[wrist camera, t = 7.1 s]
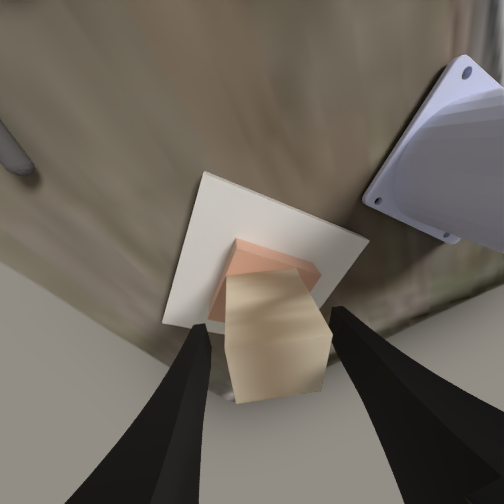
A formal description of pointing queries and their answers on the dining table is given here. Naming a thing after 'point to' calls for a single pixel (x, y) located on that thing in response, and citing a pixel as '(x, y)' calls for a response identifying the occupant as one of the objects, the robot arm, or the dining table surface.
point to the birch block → (274, 336)
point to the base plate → (258, 227)
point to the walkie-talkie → (13, 154)
